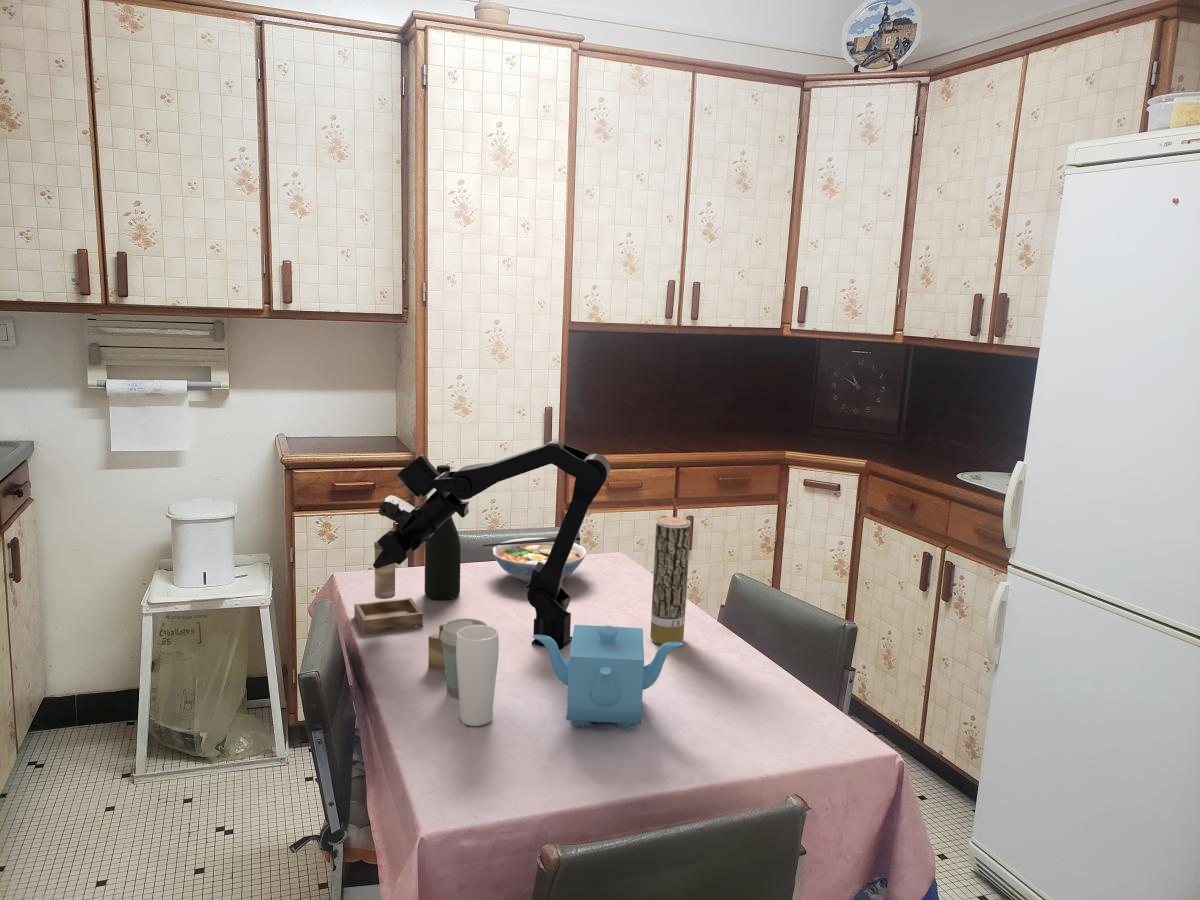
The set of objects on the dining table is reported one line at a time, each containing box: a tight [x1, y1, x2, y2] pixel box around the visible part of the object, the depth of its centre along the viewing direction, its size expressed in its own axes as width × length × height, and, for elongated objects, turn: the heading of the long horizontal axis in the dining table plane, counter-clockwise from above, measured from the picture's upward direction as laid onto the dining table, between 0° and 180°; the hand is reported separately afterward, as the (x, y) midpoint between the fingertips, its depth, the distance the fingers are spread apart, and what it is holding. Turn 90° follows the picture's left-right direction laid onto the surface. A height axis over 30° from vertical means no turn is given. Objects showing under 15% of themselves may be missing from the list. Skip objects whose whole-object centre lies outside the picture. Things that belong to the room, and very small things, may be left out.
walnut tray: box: [353, 597, 424, 635], centre depth 184 cm, size 12×10×3 cm
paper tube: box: [649, 516, 691, 646], centre depth 178 cm, size 7×7×25 cm
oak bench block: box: [427, 623, 446, 672], centre depth 161 cm, size 3×10×8 cm, turn 68°
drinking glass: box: [456, 625, 500, 727], centre depth 142 cm, size 7×7×15 cm
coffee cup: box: [440, 618, 488, 700], centre depth 152 cm, size 8×9×12 cm
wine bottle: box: [423, 464, 462, 601], centre depth 199 cm, size 8×8×30 cm
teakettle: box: [531, 624, 685, 729], centre depth 146 cm, size 19×19×15 cm
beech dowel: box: [373, 541, 396, 600], centre depth 178 cm, size 4×4×11 cm
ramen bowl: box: [482, 535, 588, 584], centre depth 214 cm, size 25×23×8 cm
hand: (378, 563), depth 178 cm, fingers closed on beech dowel, 4 cm apart
